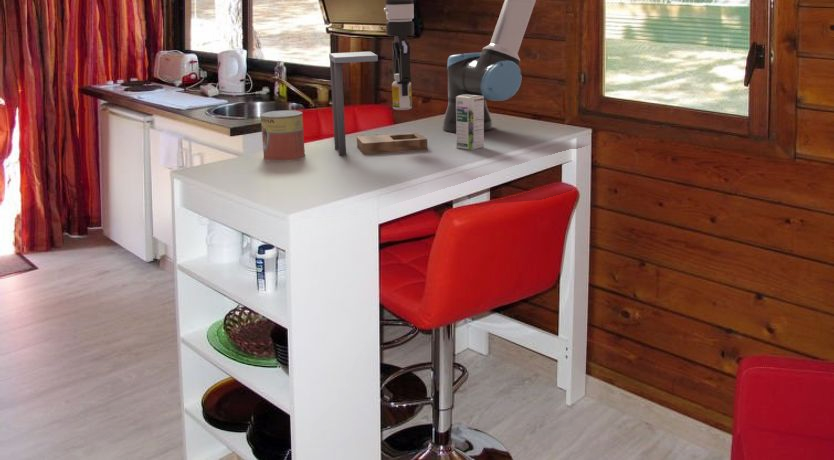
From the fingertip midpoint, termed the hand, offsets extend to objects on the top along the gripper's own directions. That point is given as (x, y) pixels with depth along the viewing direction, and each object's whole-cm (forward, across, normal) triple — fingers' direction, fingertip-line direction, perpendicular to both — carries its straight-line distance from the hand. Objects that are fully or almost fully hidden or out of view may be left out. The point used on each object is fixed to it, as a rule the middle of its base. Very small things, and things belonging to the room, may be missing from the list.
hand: (402, 105), depth 258 cm
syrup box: (+12, +6, +18) cm, 22 cm away
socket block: (+12, 0, -3) cm, 12 cm away
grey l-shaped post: (+12, 0, -13) cm, 17 cm away
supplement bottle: (+1, 0, 0) cm, 1 cm away
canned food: (+12, +2, -34) cm, 36 cm away
